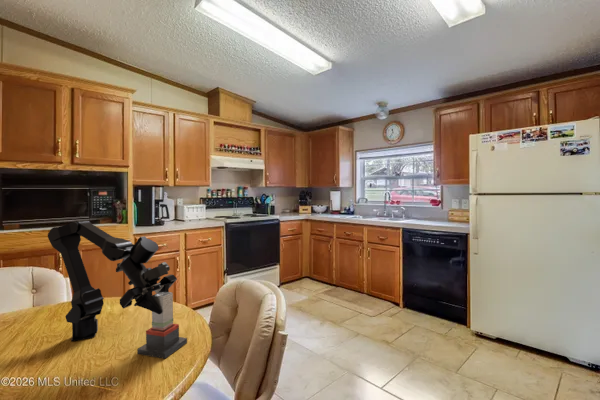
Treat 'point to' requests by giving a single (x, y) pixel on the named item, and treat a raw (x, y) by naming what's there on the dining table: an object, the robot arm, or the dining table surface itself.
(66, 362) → the dining table surface
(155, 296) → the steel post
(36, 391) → the dining table surface
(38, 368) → the dining table surface
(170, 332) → the stand
